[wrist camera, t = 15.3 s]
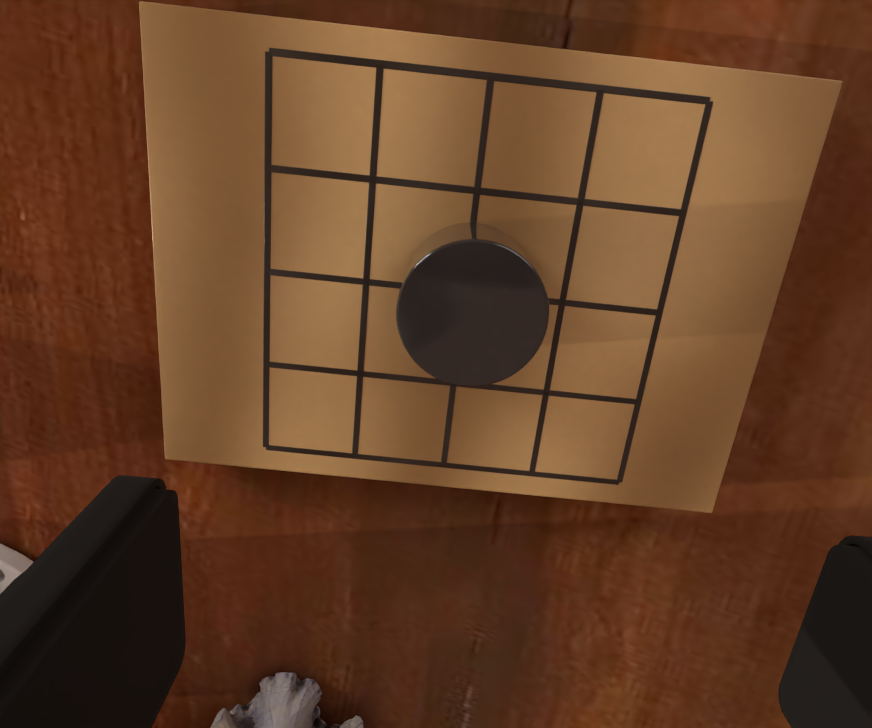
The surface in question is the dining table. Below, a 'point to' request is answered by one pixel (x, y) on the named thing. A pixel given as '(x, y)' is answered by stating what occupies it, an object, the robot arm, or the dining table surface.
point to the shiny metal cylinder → (471, 306)
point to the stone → (281, 706)
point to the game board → (452, 204)
